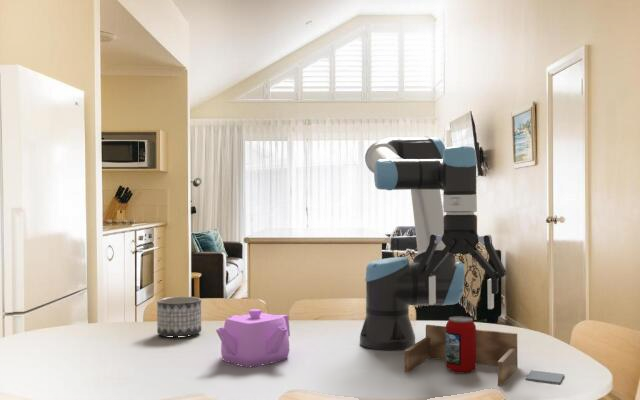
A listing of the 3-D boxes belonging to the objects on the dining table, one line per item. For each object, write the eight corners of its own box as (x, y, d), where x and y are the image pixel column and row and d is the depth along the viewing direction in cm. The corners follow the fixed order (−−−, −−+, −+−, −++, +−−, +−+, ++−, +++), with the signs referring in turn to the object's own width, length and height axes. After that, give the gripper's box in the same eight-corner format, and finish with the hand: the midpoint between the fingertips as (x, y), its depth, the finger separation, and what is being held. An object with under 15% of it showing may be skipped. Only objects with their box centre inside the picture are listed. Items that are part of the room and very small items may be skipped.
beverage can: (442, 366, 145) (442, 316, 145) (470, 366, 145) (470, 315, 145) (451, 375, 138) (450, 321, 138) (480, 374, 138) (480, 320, 138)
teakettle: (290, 350, 162) (290, 303, 162) (287, 368, 145) (287, 315, 145) (225, 351, 162) (225, 304, 162) (215, 369, 145) (215, 316, 145)
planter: (210, 333, 183) (210, 298, 183) (179, 341, 173) (179, 304, 173) (179, 329, 190) (179, 295, 190) (148, 336, 179) (147, 301, 179)
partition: (404, 372, 140) (404, 337, 140) (427, 356, 154) (426, 324, 154) (502, 385, 130) (502, 347, 130) (517, 367, 144) (517, 333, 144)
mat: (525, 379, 134) (525, 378, 134) (531, 371, 140) (531, 370, 140) (559, 384, 130) (559, 382, 130) (564, 375, 137) (564, 374, 137)
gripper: (403, 214, 144) (404, 304, 144) (512, 213, 132) (513, 312, 132) (414, 213, 151) (414, 300, 150) (519, 213, 139) (520, 307, 139)
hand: (461, 306), depth 141 cm, fingers open, 13 cm apart
